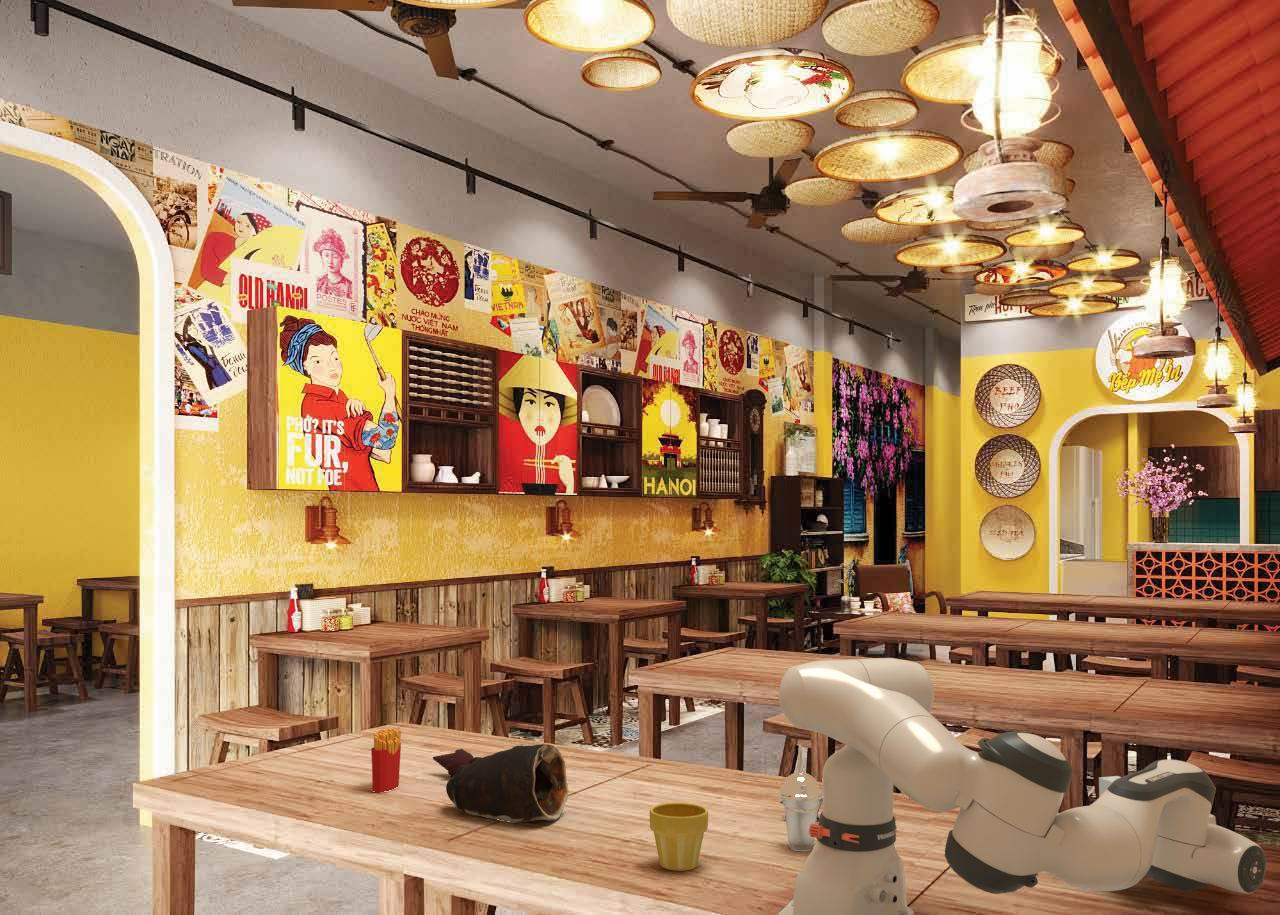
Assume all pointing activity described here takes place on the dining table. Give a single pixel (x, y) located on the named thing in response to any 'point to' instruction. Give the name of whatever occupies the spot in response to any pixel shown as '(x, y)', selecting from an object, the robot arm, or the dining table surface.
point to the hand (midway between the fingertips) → (1113, 815)
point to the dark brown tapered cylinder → (513, 785)
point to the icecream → (455, 760)
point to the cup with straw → (800, 806)
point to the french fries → (386, 760)
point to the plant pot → (678, 833)
